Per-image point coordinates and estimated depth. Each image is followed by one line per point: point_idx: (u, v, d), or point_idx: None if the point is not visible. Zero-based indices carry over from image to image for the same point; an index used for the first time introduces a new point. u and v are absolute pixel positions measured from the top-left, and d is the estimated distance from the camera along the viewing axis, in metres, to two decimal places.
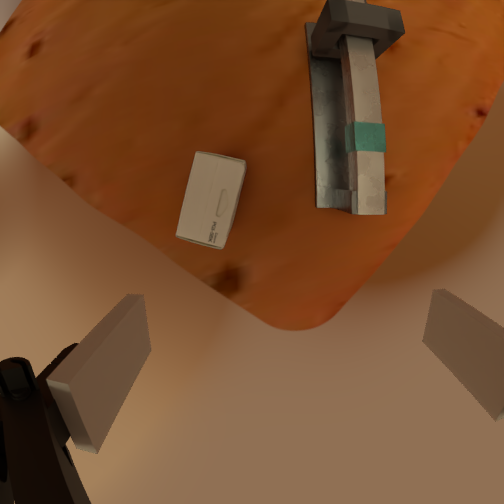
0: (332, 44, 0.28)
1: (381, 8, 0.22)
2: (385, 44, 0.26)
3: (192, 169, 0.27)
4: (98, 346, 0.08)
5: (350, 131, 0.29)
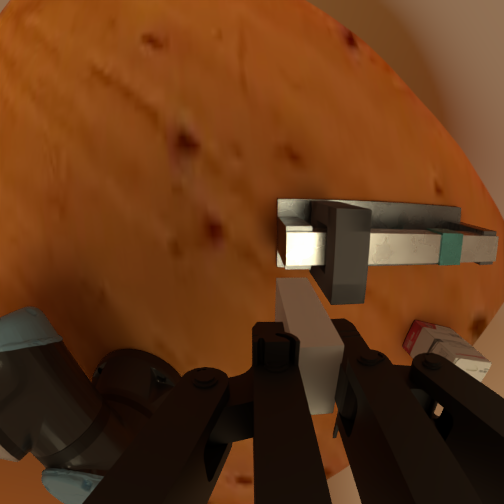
0: None
1: (339, 236, 0.24)
2: None
3: None
4: (307, 317, 0.10)
5: None
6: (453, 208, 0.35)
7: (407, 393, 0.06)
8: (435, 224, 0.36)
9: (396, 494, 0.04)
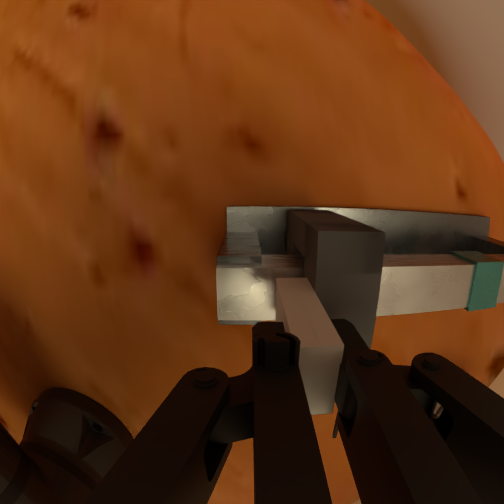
0: None
1: (322, 284, 0.13)
2: None
3: None
4: (307, 317, 0.10)
5: None
6: (480, 218, 0.24)
7: (407, 393, 0.06)
8: (456, 241, 0.25)
9: (396, 494, 0.04)
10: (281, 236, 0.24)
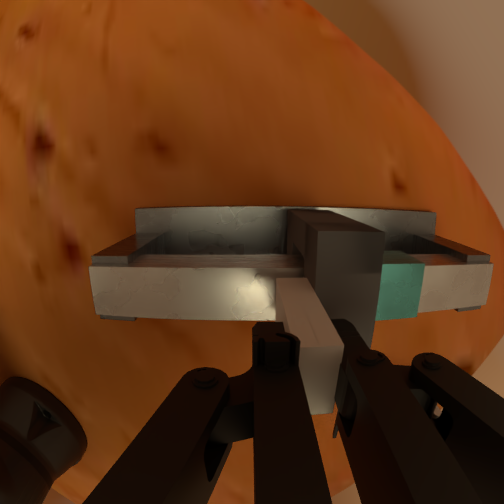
0: None
1: (321, 284, 0.13)
2: None
3: None
4: (307, 317, 0.10)
5: None
6: (423, 214, 0.24)
7: (407, 393, 0.06)
8: (391, 239, 0.25)
9: (396, 494, 0.04)
10: (186, 236, 0.24)
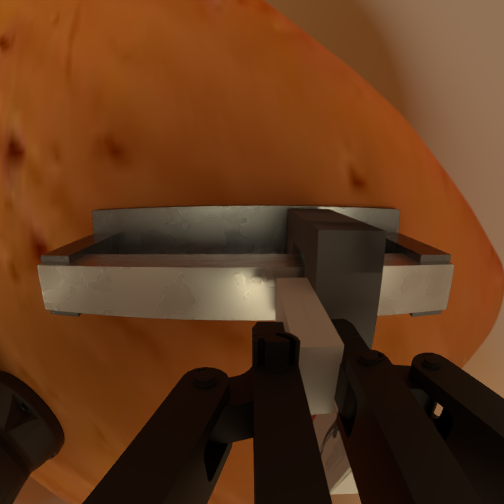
0: None
1: (322, 284, 0.13)
2: None
3: (347, 493, 0.18)
4: (307, 317, 0.10)
5: None
6: (384, 211, 0.24)
7: (407, 393, 0.06)
8: None
9: (396, 494, 0.04)
10: (138, 237, 0.24)
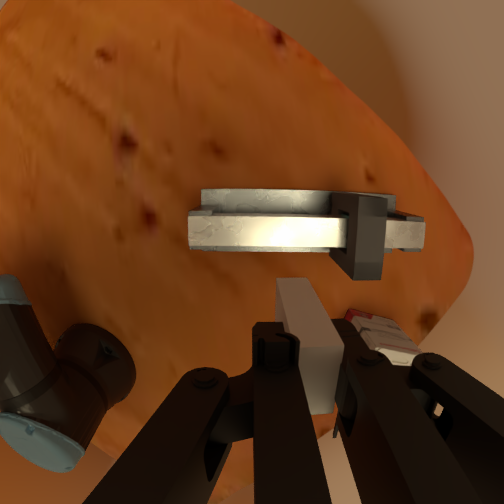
0: None
1: (360, 220, 0.27)
2: None
3: None
4: (307, 317, 0.10)
5: None
6: (386, 196, 0.39)
7: (407, 393, 0.06)
8: None
9: (396, 495, 0.04)
10: (235, 207, 0.39)
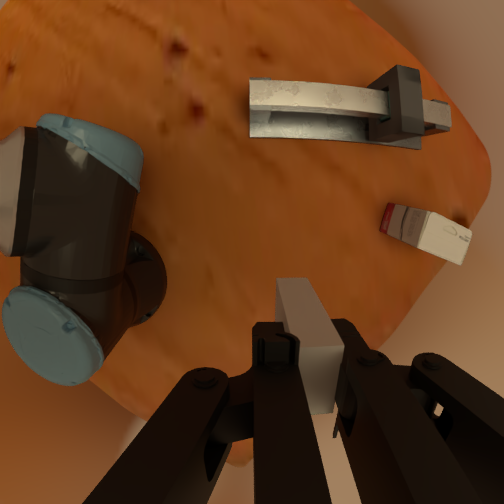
0: None
1: (401, 82, 0.27)
2: None
3: (427, 250, 0.33)
4: (307, 317, 0.10)
5: None
6: None
7: (407, 393, 0.06)
8: None
9: (396, 494, 0.04)
10: None
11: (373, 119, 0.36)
